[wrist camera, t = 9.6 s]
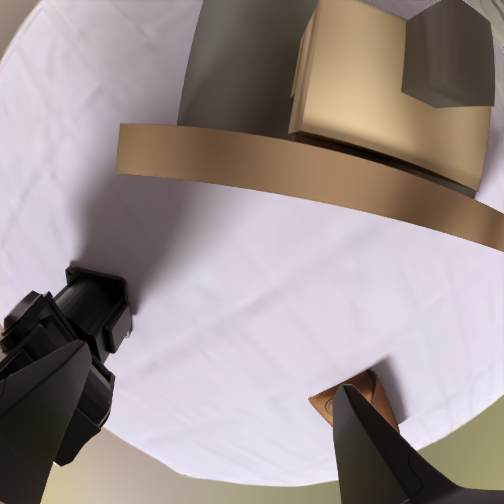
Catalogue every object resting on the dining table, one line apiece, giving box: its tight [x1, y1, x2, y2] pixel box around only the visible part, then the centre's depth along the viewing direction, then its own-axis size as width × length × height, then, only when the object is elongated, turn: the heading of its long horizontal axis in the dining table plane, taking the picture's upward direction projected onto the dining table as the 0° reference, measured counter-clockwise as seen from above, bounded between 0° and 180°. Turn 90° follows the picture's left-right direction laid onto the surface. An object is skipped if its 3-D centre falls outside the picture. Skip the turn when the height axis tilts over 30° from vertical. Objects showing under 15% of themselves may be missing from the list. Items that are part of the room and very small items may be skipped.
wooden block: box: [288, 0, 495, 192], centre depth 10 cm, size 10×7×11 cm
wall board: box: [116, 0, 504, 252], centre depth 12 cm, size 24×14×9 cm, turn 81°
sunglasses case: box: [308, 370, 400, 434], centre depth 28 cm, size 18×7×7 cm
